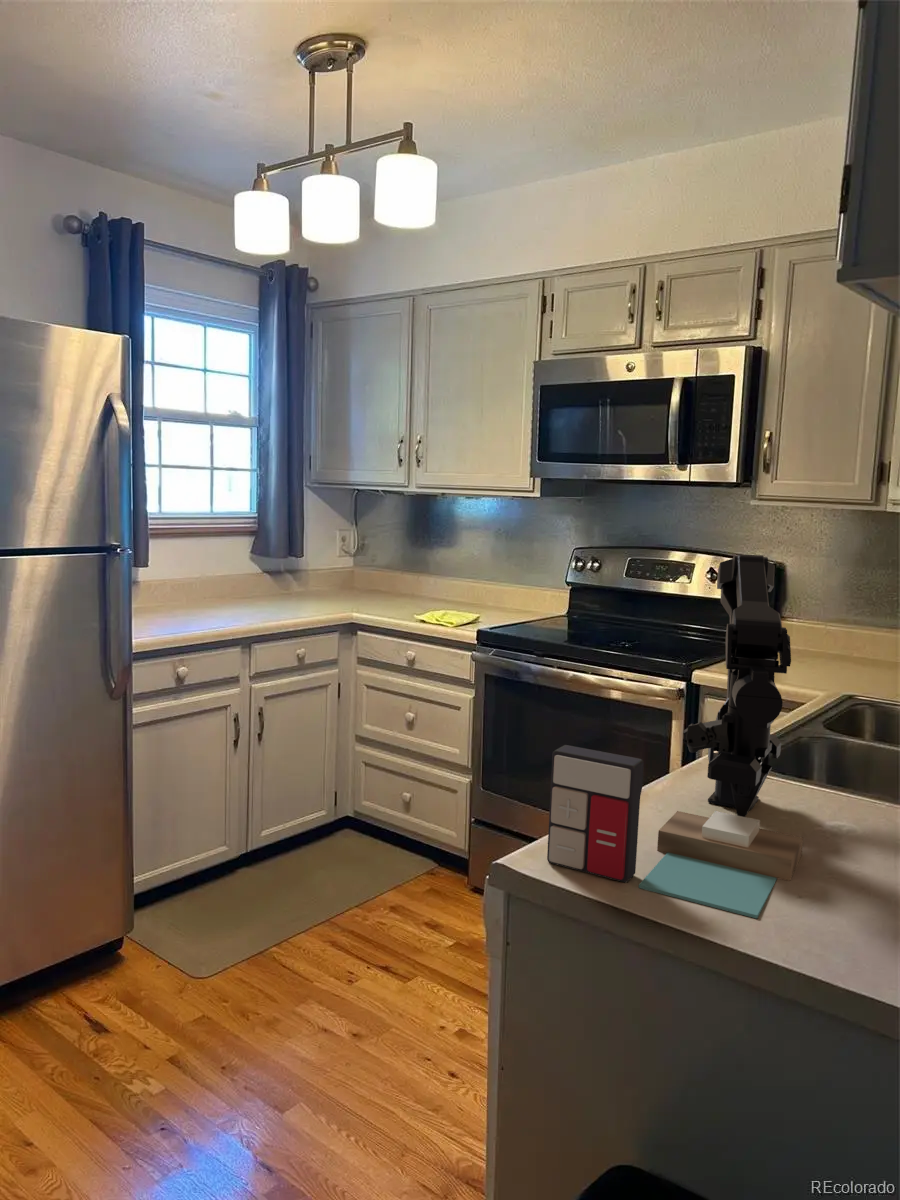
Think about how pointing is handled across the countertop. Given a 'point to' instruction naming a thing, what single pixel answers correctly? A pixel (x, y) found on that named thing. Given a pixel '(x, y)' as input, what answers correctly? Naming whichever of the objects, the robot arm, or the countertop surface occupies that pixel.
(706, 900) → the mat
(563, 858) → the calculator
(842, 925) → the countertop surface
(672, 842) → the wooden board
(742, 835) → the tile
